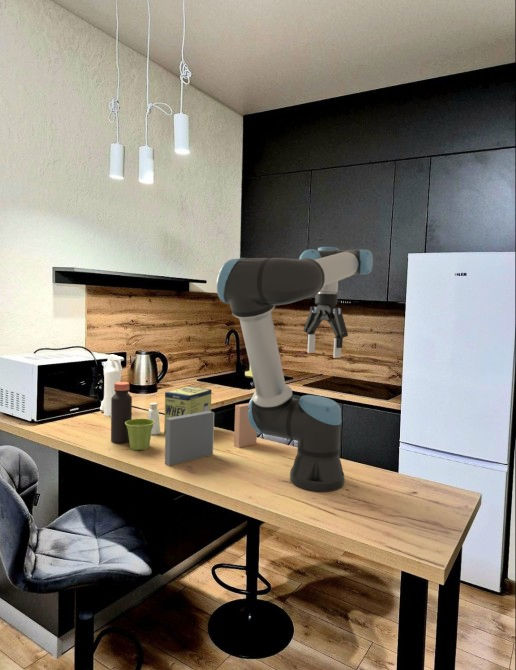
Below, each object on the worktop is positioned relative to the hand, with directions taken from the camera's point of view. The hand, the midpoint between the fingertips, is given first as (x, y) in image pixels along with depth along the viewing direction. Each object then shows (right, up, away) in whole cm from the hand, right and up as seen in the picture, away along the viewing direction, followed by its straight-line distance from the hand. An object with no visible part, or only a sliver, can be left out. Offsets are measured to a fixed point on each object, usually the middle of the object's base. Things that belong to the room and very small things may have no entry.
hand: (323, 355), depth 165 cm
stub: (-27, -31, -1) cm, 41 cm away
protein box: (-49, -29, +13) cm, 58 cm away
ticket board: (-44, -32, -17) cm, 57 cm away
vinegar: (-70, -30, 0) cm, 76 cm away
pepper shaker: (-61, -29, +10) cm, 68 cm away
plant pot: (-62, -30, -7) cm, 69 cm away
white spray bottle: (-84, -26, +34) cm, 94 cm away
